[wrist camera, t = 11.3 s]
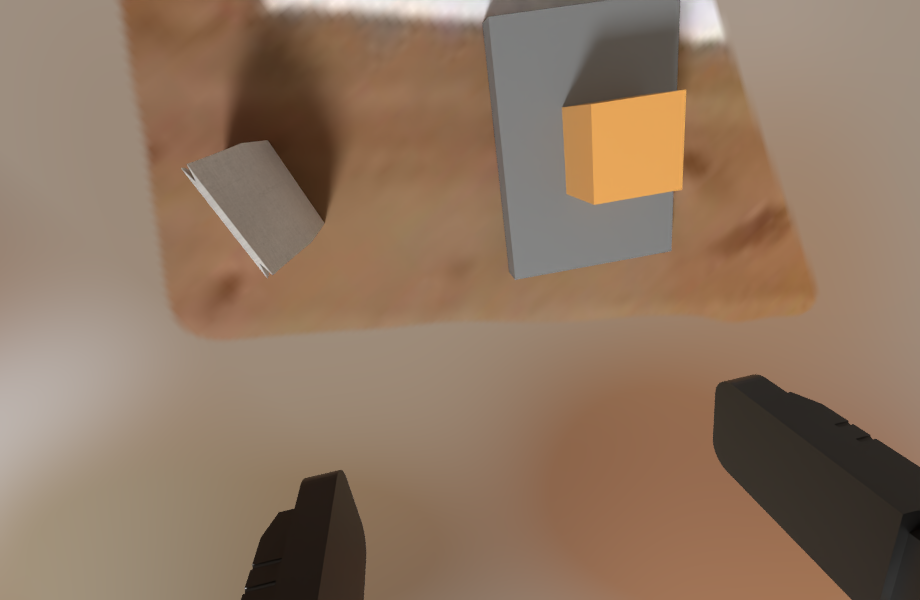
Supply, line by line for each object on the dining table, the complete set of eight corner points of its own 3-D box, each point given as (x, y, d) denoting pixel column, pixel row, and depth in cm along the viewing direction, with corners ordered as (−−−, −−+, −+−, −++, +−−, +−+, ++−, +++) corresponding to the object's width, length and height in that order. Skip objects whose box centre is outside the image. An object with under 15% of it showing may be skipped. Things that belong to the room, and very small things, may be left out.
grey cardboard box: (267, 140, 32) (215, 146, 22) (324, 223, 34) (299, 259, 25) (223, 167, 32) (153, 184, 23) (283, 247, 34) (243, 292, 25)
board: (482, 23, 31) (500, 2, 26) (663, -3, 32) (715, -27, 27) (509, 272, 37) (527, 295, 32) (657, 244, 38) (698, 263, 33)
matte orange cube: (561, 107, 31) (591, 104, 27) (643, 94, 32) (686, 89, 27) (566, 193, 34) (594, 204, 29) (642, 180, 34) (682, 189, 30)
